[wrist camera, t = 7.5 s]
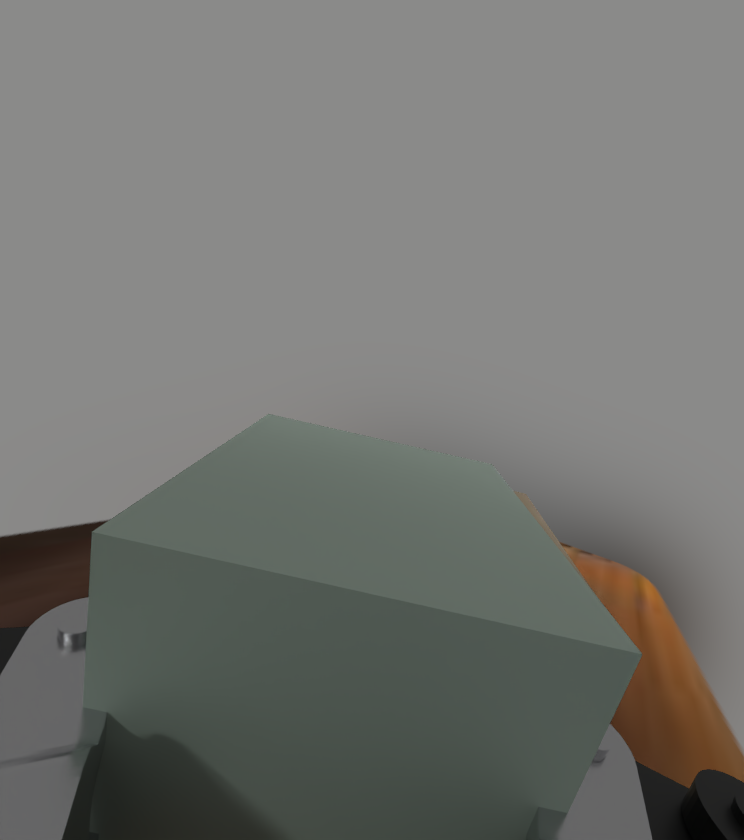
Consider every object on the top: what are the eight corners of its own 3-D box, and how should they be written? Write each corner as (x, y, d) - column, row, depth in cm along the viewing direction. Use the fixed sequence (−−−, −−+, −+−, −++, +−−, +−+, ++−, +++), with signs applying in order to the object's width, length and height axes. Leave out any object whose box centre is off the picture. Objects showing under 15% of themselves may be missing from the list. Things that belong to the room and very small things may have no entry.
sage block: (63, 1067, 6) (92, 531, 4) (220, 714, 11) (268, 413, 9) (412, 1141, 6) (642, 654, 4) (401, 754, 11) (492, 464, 9)
